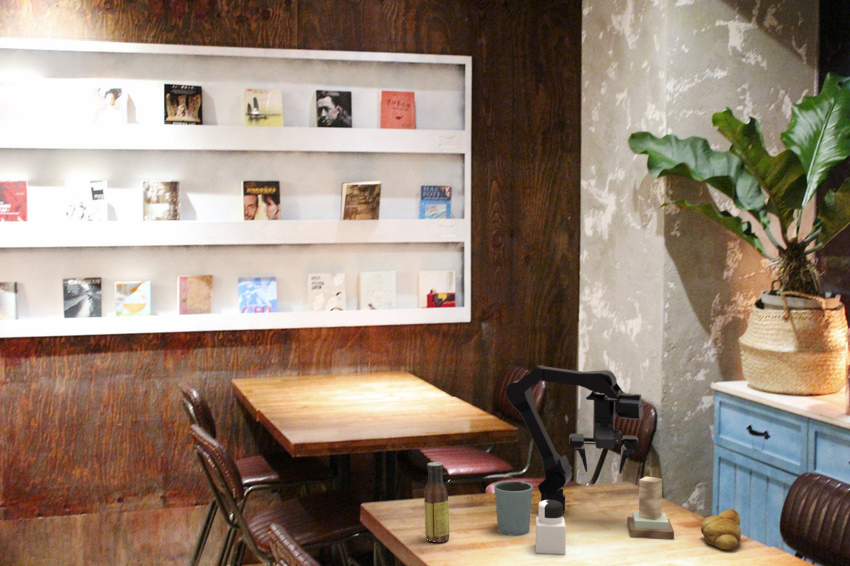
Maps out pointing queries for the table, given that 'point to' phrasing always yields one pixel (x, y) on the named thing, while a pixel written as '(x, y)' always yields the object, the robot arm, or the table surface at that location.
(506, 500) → the teal cup
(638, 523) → the sage slab
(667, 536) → the walnut base slab
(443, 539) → the sauce bottle
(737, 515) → the bread roll
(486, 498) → the table surface
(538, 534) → the medicine bottle
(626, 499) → the table surface
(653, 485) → the oak block
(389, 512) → the table surface
